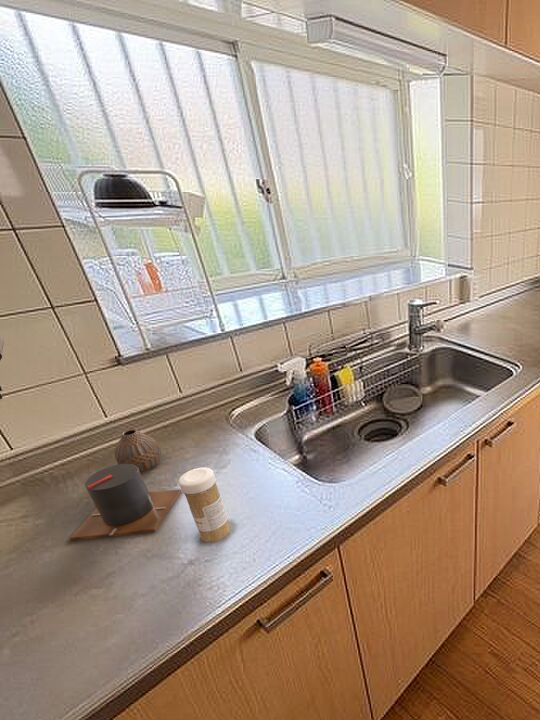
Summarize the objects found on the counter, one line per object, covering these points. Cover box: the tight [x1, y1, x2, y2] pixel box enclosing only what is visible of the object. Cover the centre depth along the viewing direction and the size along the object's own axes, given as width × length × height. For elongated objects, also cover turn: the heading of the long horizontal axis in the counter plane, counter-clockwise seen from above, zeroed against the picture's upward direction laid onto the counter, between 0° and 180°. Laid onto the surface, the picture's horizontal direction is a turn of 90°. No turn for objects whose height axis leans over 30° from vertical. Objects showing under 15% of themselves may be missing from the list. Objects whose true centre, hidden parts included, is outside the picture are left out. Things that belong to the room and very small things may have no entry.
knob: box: [84, 464, 153, 526], centre depth 72 cm, size 7×7×8 cm
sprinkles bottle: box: [178, 467, 232, 543], centre depth 70 cm, size 5×5×14 cm
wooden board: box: [69, 489, 183, 542], centre depth 75 cm, size 12×11×2 cm
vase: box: [114, 428, 162, 473], centre depth 85 cm, size 7×7×9 cm
